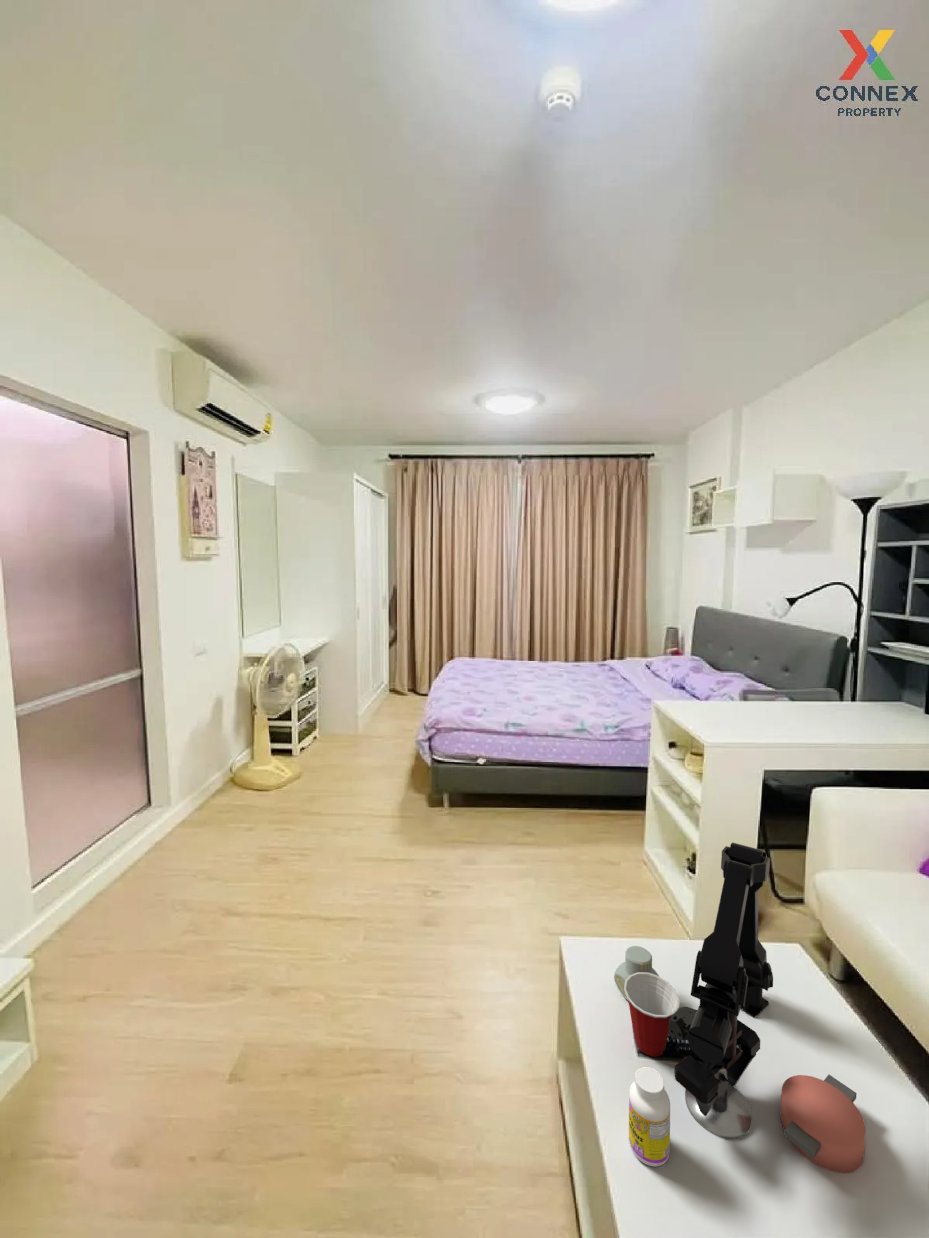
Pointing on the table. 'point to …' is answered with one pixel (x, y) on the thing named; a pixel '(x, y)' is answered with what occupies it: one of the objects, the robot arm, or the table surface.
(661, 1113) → the supplement bottle
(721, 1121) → the lid
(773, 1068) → the table surface
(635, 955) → the air freshener
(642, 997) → the plastic cup
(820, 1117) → the pot
